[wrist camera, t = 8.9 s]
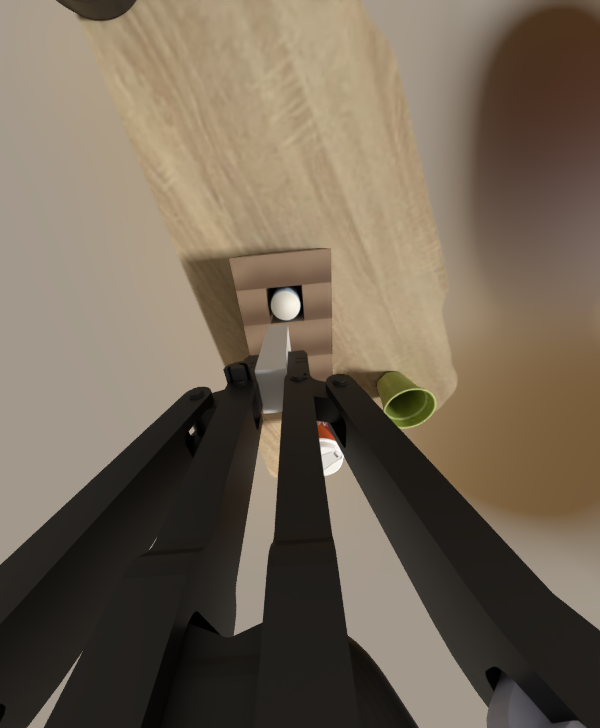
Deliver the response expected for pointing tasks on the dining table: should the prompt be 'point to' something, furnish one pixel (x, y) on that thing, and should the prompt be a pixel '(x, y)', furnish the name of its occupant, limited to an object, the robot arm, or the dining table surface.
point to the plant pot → (405, 400)
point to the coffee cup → (329, 449)
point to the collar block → (315, 313)
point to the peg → (286, 302)
